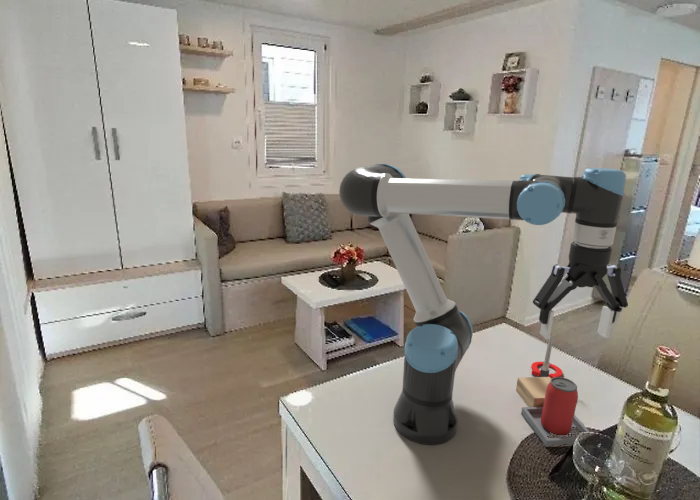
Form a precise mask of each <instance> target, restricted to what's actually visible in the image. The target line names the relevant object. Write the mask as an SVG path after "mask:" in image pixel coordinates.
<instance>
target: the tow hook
mask: <svg viewBox="0 0 700 500" xmlns="http://www.w3.org/2000/svg"><path fill="white" fill-rule="evenodd" d="M552 348H553V336H550V339H548V342H547V346H546V350H545V356H544V360H543V361H535V362H532V363H531V367H530V368H531V375H533V376H535V377H550V378H551V379H552V378H554V377H563V373H564V372H563V370H562V369H561V368H560V367H559V366H557V365H555V364H552V363H550V360H551V359H550V358H551V354H552ZM538 367H541V369H539V368H538ZM550 369H551V370H554V371H555V373H550Z"/></svg>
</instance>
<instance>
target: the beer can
mask: <svg viewBox="0 0 700 500" xmlns="http://www.w3.org/2000/svg"><path fill="white" fill-rule="evenodd" d="M578 392H579V391H578V386H577V384H576V382H574V381H572V380H571V379H569V378H566V377H563V376H561V377H554V378H552V379H551V381H550V383H549V384H548V386H547V389H546V394H545V400H544V405H543V411H542V416H541V424H542V426H543V427H544V428H545V429H546V430H547V431H549V432H551V433H553V434H556V435H567V434H569V433H570V431H571V428H572V423H573V418H574V415H575V413H576V408H577V403H578V400H579V399H578V398H579V393H578Z"/></svg>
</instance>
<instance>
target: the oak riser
mask: <svg viewBox="0 0 700 500" xmlns="http://www.w3.org/2000/svg"><path fill="white" fill-rule="evenodd" d="M516 380H517V381H516V387H515V392H517V394H518V395H519V396H520V398H521V399H522V400H523V402H524V403H525V404H526V406H527V407H543V405H544V400H545V394H546V389H547V386H548V384H549V383H550V381H551V378H550V377H539V376H535V377H533V376H532V377H517V379H516Z"/></svg>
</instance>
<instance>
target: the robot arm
mask: <svg viewBox="0 0 700 500" xmlns="http://www.w3.org/2000/svg"><path fill="white" fill-rule="evenodd" d="M581 175H582V176H562V175H559V176H558V175H550V174H549V175H547V174H541V173H536V174H535V173H533V174H529V173H528V174H526V173H525V174H522V175H521V176H520V177H519V178H518V179H519V180H501V179H497V180H496V179H495V180H494V179H460V178H459V179H458V178H457V179H453V178H451V179H450V178H449V179H448V178H406V175H405V174H404V173H403V171H402V170H401V169H399V168H398V167H396V166H395V165H391V164H387V163H386V164H385V163H376V164H374V165H369V166H360V167H355V168H353V169H352V170H350V171H349V172H347V173H346V174H345V175H344V177H343V178H342V181H341V182H340V185H339V191H338V192H339V198H340V201H341V204H342V205H343V207H344V208H345V210H347V211H348V212H350V213H351V214H352V215H354V216H357V217H366V218H367V220H368V222H369V224H370V226H373V227H376V228H377V229H378V230H379V233H380V235H381V237H382V239H383V241H384V244H385V246H386V248H387V251H388V253H389V255H390V257H391V259H392V262H393V264H394V265H395V267H396V270H397V273H398V275H399V277H400V279H401V281H402V283H403V286H404V288H405V290H406V293H407V294H408V296H409V297H408V298H410V302H411V304H412V305H413V307H414V310H415V313H414V314H415V315H414V316H413V322H414V324H415V326H416V327H414V328H412V329H411V330H410V331H409V333H408V334H407V336H406V340H405V343H404V349H403V350H404V351H403V352H404V360H403V361H404V362H403V375H402V376H403V377H402V391H401V393H400V395H399V397H398V399H397V401H396V404H395V406H394V408H393V417H392V421H393V424H394V426H395V429H396V430H397V431H398V433H400V434H401V435H402V436H403V437H405V438H406V439H408V440H410V441H412V442H415V443H418V444H421V445H440V444H443V443H447V442H448V441H450V440H451V439H452V438H454V437H455V435H456V432H457V427H458V415H457V412H456V407H455V405H454V400H453V392H454V383H455V376H456V370H457V369H458V367H459V365H460V363H461V361H462V359H463V358H464V356H465V354H466V352H467V351H468V349H469V348H470V346H471V343H472V339H473V333H474V332H473V326H472V322H471V320H470V319H469V317H468V316H467V314H466V313H464V311H461V310H459V308H458V306H457V304H456V302H455V301H453V300H450V299H448V298H447V296H446V294H445V292H444V289H443V287H442V285H441V283H440V280H439V279H438V276H437V273H436V272H435V270H434V267H433V265H432V263H431V261H430V260H431V259H430V258H429V256H428V254H427V252H426V250H425V246H424V245H423V242H422V241H421V239H420V236H419V233H418V232H417V230H416V227H415V224H414V223H413V221H412V218H411V216H410V215H428V216H432V215H433V216H442V217H443V216H444V217H445V216H446V217H463V218H478V219H479V218H480V219H481V218H482V219H483V218H484V219H499V220H514V221H525V222H526V223H528V224H531V225H534V226H544V225H547V224H550V223H552V222H554V220H556V219H557V218H558V217H559V216H561V214H562V213H565V214H570V215H571V214H574V215H575V218H574V219H575V220H574V225H573V230H572V234H571V239H572V241H573V242H572V243H570V247H569V253H568V260H569V261H568V264H567V266H563V265H562V266H561V265H559V264H557V263H555V264H554V265H553V266H552V268H551V272H550V274H549V276H548V278H547V279H546V280H545V282H544V284H543V285H542V287H541V288H540V290H539V291H538V293H537V294H536V296H535V297H534V298H533V299H532V304H533V305H534V306H536V307H537V308H538V309H540V311H539V318H538V321H539V322H540V323H541V325H540V329H539V334H540V335H541V336H542V337H543V338H544V339H545V340H549V339H550V337H551V334H552V327H553V320H554V316H555V311H554V310H553V308H554V307H556V306H557V305H558V304H559V303H560V302H561V301H562V300H563V299H564V298H565V297H566V296H568V294H569V293H570V292H571V291H574V290H576V289H577V288H586V287H587V288H595V290H596V291H597V292H598V294H599V295H600V296H601V298H602V300H603V301H604V302H605V304H606V305H603V306H602V308H601V314H600V318H599V322H598V328H597V334H598V335H600V336H601V337H603V338H604V339H609V338H610V333H611V328H612V324H615V321H616V317H617V313H621V312H622V310H623V308H627V307H628V306H629V305H628V299H627V297H626V291H625V290H624V289H625V287H624V286H623V282H622V277H621V275H622V268H621V267H619V266H617V265H615V264H613V263H610V261H611V255H612V252H613V249H612V247H611V246H613V245H614V241H615V235H616V231H617V226H618V222H619V217H620V212H621V209H622V204H623V199H624V195H625V187H626V180H627V175H626V173H625V171H623V170H622V169H618V168H605V167H604V168H603V167H589V168H588V167H587V168H585V169H584V171H583V173H582V174H581ZM606 275H607V279H608V281H609V286H610V289H608V287H607V283H606V282H605V281H604V277H605V276H606ZM563 277H564V278H563ZM610 290H611V291H610Z"/></svg>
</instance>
